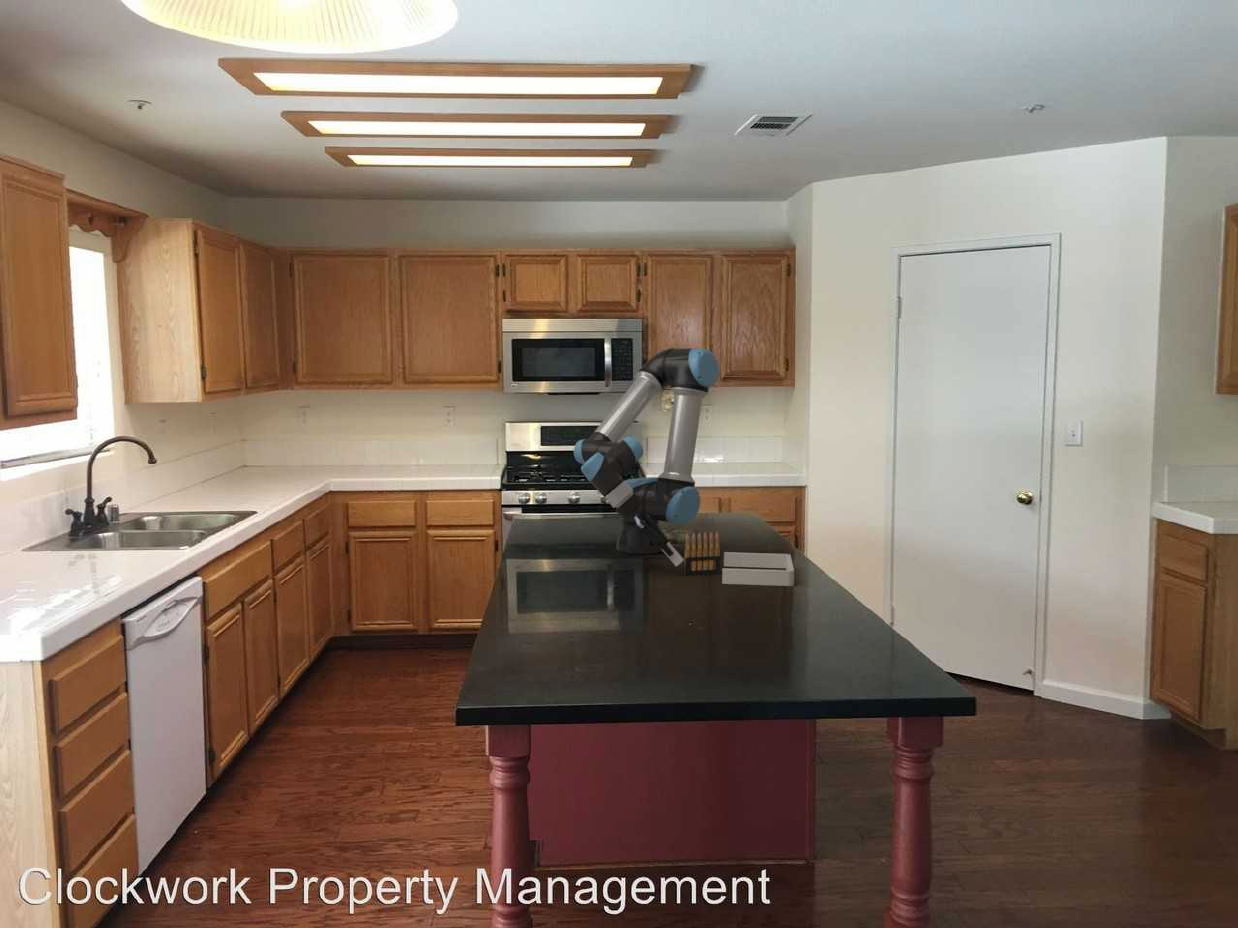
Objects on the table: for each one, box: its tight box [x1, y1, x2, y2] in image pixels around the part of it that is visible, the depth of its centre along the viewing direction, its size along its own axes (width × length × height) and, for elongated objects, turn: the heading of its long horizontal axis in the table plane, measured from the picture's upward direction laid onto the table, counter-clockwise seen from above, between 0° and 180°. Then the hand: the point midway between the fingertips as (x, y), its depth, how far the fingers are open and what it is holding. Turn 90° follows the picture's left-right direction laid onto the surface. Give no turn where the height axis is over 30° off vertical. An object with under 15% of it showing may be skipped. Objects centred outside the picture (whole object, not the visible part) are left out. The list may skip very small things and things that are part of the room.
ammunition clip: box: [682, 531, 721, 576], centre depth 262 cm, size 11×2×12 cm, turn 104°
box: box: [721, 551, 795, 587], centre depth 261 cm, size 22×19×4 cm
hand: (680, 562), depth 261 cm, fingers closed
